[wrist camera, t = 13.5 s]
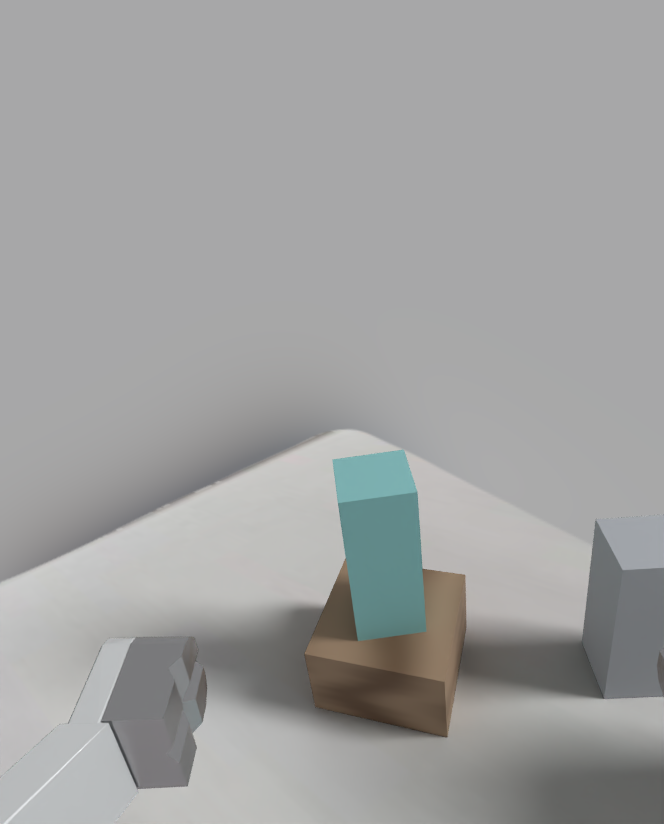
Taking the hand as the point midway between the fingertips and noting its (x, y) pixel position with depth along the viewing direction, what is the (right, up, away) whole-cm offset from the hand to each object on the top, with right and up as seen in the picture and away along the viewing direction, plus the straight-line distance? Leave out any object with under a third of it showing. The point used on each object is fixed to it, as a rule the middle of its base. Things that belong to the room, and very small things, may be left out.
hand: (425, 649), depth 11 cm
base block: (+2, -12, +29) cm, 31 cm away
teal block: (+2, -8, +26) cm, 28 cm away
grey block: (+16, -11, +26) cm, 33 cm away
